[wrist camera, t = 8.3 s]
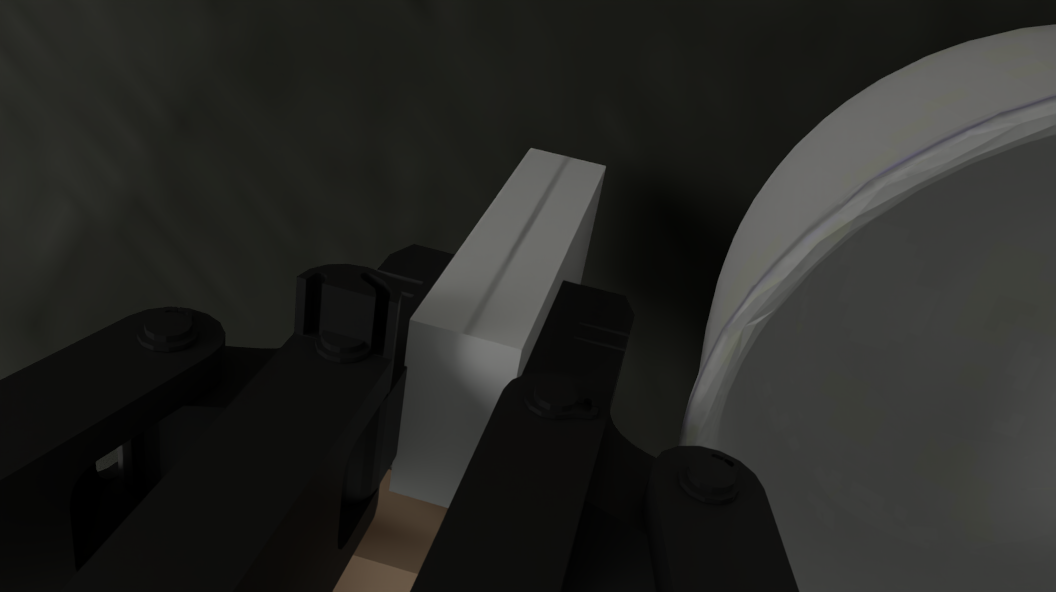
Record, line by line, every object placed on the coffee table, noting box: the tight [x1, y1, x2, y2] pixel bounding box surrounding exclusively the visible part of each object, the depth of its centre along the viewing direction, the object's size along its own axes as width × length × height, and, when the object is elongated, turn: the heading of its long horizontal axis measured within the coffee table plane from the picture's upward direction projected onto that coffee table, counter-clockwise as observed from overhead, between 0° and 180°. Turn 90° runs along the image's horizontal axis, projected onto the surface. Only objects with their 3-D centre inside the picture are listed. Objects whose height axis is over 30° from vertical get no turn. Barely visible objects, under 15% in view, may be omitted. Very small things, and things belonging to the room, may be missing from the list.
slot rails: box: [333, 469, 448, 592], centre depth 17 cm, size 12×21×3 cm, turn 171°
